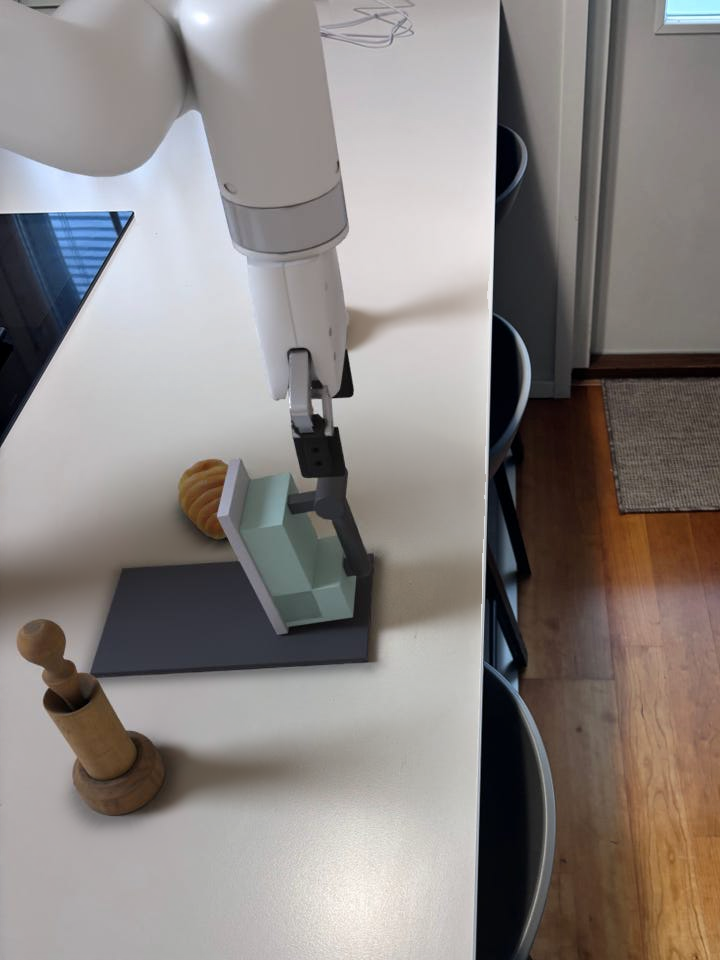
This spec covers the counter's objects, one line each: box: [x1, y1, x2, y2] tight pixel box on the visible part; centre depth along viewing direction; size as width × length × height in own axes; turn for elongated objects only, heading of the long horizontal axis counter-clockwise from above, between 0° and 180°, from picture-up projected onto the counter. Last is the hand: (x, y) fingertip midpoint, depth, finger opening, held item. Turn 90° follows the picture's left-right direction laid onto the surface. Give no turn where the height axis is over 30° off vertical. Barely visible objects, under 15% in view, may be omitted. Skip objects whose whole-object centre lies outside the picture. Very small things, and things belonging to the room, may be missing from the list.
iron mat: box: [89, 552, 375, 678], centre depth 89 cm, size 24×13×1 cm, turn 92°
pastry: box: [177, 458, 229, 540], centre depth 97 cm, size 9×7×4 cm
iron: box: [217, 457, 372, 635], centre depth 83 cm, size 14×7×10 cm
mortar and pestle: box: [15, 618, 165, 816], centre depth 71 cm, size 7×6×18 cm
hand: (329, 434), depth 74 cm, fingers open, 9 cm apart
